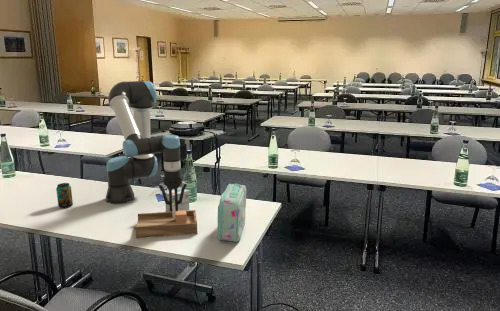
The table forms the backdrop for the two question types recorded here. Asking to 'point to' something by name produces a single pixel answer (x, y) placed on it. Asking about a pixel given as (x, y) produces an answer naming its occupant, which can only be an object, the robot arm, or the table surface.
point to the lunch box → (232, 213)
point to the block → (181, 216)
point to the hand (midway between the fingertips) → (174, 217)
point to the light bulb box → (185, 200)
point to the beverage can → (64, 195)
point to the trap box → (164, 225)
